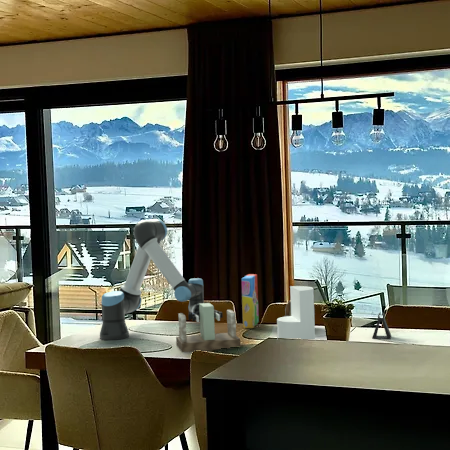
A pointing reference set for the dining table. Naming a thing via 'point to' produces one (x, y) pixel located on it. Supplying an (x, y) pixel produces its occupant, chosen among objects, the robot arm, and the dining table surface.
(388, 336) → the phone stand
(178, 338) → the marble base with posts
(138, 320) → the dining table surface
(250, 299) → the game box
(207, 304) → the book
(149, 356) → the dining table surface
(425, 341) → the dining table surface
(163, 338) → the dining table surface
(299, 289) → the white l-shaped block
